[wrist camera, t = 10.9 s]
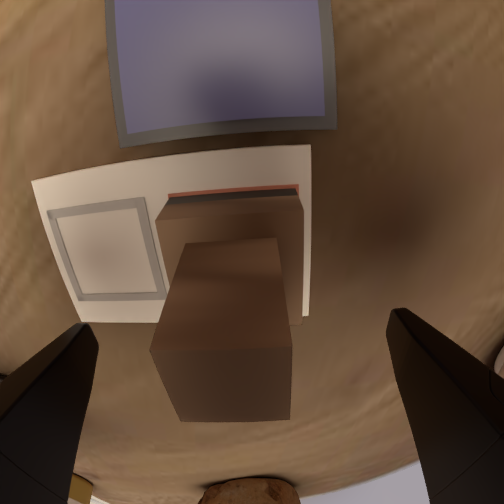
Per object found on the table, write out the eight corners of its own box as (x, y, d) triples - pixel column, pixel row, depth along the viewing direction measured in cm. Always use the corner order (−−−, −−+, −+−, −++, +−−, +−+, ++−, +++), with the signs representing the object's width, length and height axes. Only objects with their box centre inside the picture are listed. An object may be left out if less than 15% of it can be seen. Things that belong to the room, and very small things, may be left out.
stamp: (189, 297, 14) (159, 433, 8) (169, 197, 12) (98, 317, 6) (295, 291, 14) (319, 431, 8) (295, 188, 12) (340, 309, 6)
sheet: (83, 319, 16) (81, 322, 15) (33, 180, 12) (29, 181, 11) (307, 313, 15) (308, 317, 15) (309, 144, 11) (311, 145, 11)
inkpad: (129, 143, 11) (117, 150, 10) (114, -32, 8) (101, -41, 6) (330, 125, 11) (339, 130, 10) (316, -56, 7) (323, -69, 6)
